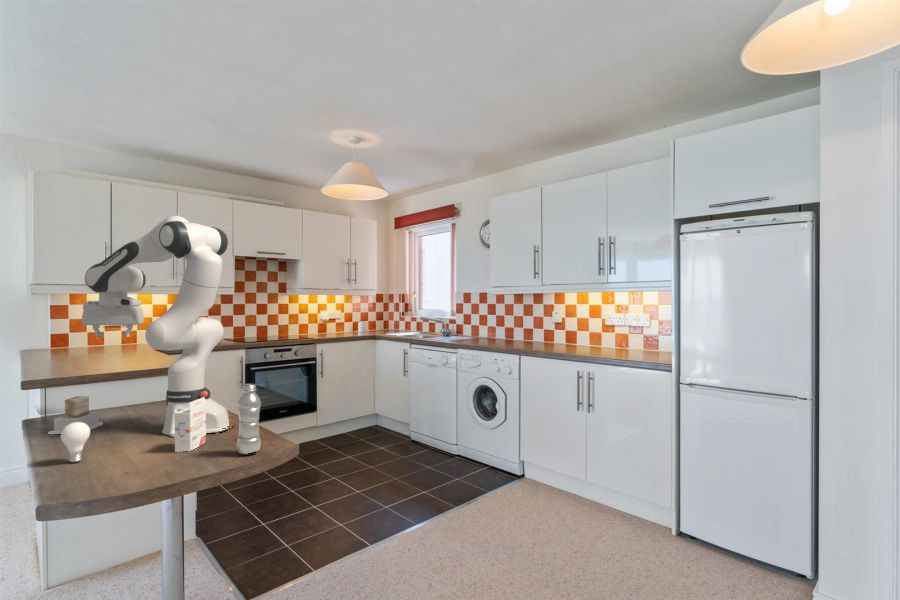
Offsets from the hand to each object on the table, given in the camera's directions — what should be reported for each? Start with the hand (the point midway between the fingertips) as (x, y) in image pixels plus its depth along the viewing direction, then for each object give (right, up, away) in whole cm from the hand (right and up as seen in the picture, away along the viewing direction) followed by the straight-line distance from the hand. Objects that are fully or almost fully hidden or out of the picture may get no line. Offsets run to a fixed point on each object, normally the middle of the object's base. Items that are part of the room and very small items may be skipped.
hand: (112, 337), depth 175 cm
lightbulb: (+26, -31, -50) cm, 64 cm away
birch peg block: (0, -30, -16) cm, 34 cm away
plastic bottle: (+71, -31, -42) cm, 88 cm away
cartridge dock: (0, -31, -16) cm, 35 cm away
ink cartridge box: (+51, -31, -37) cm, 70 cm away
